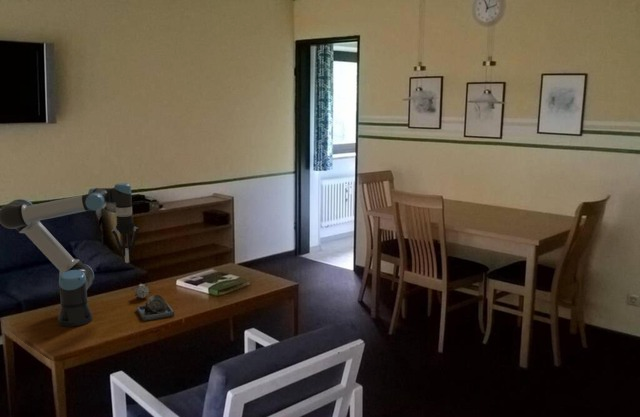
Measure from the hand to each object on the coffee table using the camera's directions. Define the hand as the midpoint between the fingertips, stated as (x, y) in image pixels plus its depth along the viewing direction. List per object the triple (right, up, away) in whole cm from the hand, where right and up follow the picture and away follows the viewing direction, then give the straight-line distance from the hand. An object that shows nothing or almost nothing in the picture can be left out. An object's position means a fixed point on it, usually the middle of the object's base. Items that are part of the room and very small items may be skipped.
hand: (127, 261), depth 299 cm
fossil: (+15, -25, -2) cm, 29 cm away
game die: (+2, -21, +20) cm, 29 cm away
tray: (+14, -25, -1) cm, 29 cm away
